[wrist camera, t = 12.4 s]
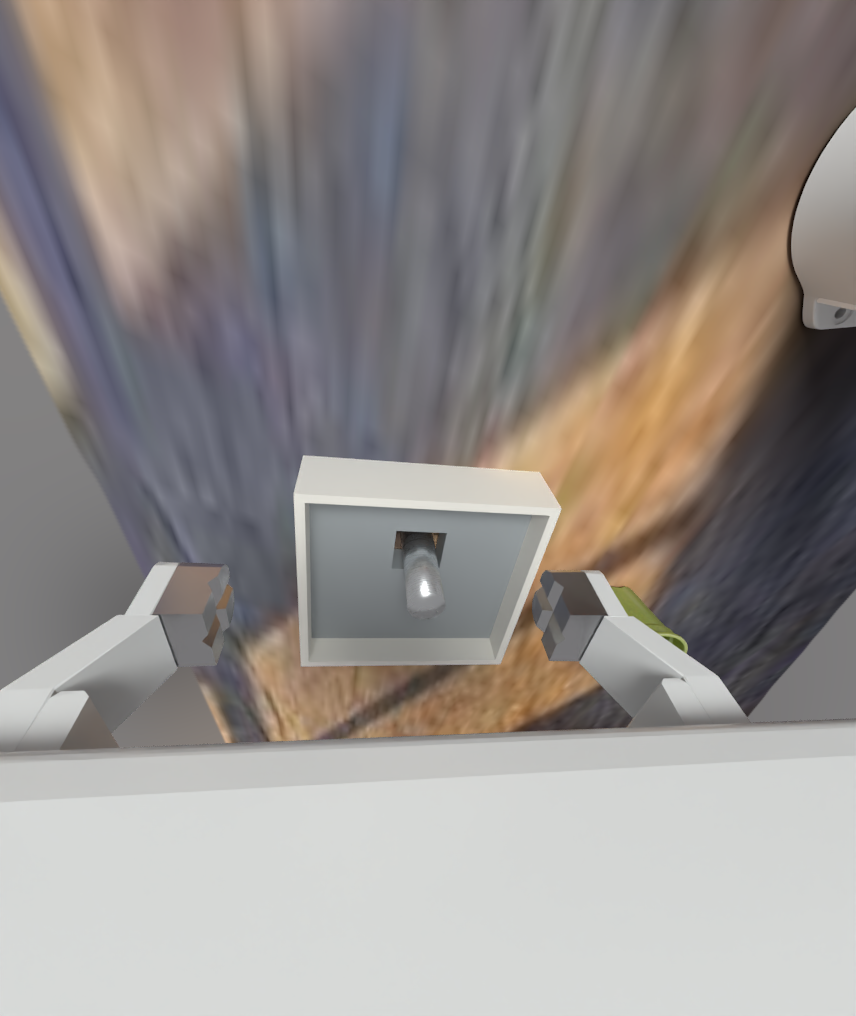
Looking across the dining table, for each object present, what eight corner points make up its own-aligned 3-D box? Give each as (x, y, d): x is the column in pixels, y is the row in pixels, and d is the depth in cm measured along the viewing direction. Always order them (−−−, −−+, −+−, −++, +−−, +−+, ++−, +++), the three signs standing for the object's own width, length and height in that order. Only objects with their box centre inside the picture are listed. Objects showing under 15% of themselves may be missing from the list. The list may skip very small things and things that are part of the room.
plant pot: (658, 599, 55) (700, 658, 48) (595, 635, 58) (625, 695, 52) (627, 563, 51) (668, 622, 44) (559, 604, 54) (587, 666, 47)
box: (539, 472, 42) (561, 508, 37) (488, 622, 54) (500, 664, 49) (303, 455, 38) (293, 493, 33) (307, 621, 50) (300, 666, 46)
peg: (433, 520, 44) (448, 593, 36) (429, 544, 46) (442, 619, 38) (402, 518, 43) (410, 593, 35) (399, 543, 45) (405, 619, 37)
